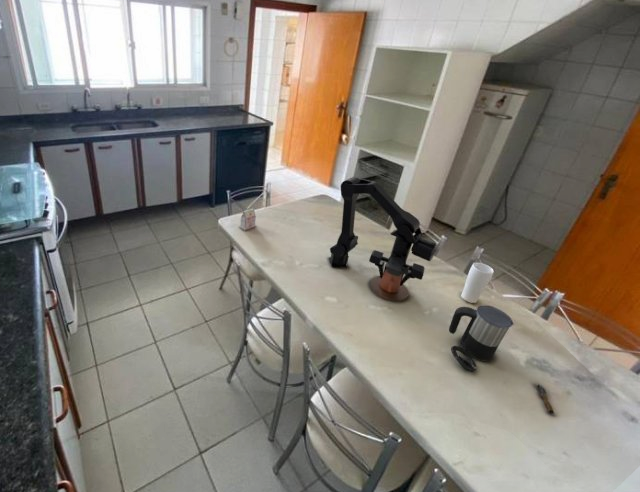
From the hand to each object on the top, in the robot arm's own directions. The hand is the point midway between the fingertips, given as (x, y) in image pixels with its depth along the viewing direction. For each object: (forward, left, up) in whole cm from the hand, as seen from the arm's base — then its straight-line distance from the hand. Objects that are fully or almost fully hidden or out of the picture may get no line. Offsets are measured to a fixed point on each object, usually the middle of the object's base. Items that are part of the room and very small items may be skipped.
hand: (390, 281), depth 128 cm
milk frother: (+14, -30, -4) cm, 33 cm away
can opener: (+26, -44, -4) cm, 51 cm away
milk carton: (-55, +44, -4) cm, 71 cm away
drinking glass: (+30, -4, -4) cm, 31 cm away
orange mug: (0, -1, -3) cm, 3 cm away
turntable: (0, 0, -4) cm, 4 cm away
